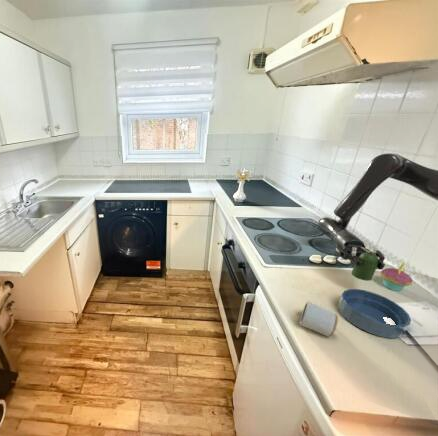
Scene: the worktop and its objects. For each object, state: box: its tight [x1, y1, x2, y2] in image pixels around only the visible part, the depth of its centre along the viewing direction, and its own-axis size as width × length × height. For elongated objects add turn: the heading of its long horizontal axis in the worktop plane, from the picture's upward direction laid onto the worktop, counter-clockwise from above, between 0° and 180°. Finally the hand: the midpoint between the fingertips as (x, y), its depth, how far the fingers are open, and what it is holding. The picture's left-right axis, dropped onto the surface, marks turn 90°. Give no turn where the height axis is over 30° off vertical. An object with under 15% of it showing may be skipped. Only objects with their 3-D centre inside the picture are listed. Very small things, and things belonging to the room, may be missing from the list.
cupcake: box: [379, 262, 413, 292], centre depth 89 cm, size 9×8×12 cm
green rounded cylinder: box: [351, 250, 378, 282], centre depth 84 cm, size 6×6×10 cm
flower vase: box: [232, 167, 253, 203], centre depth 180 cm, size 13×18×25 cm
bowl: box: [337, 288, 412, 339], centre depth 76 cm, size 16×16×5 cm
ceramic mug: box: [299, 301, 339, 337], centre depth 73 cm, size 11×8×8 cm
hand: (371, 265), depth 81 cm, fingers closed on green rounded cylinder, 5 cm apart
